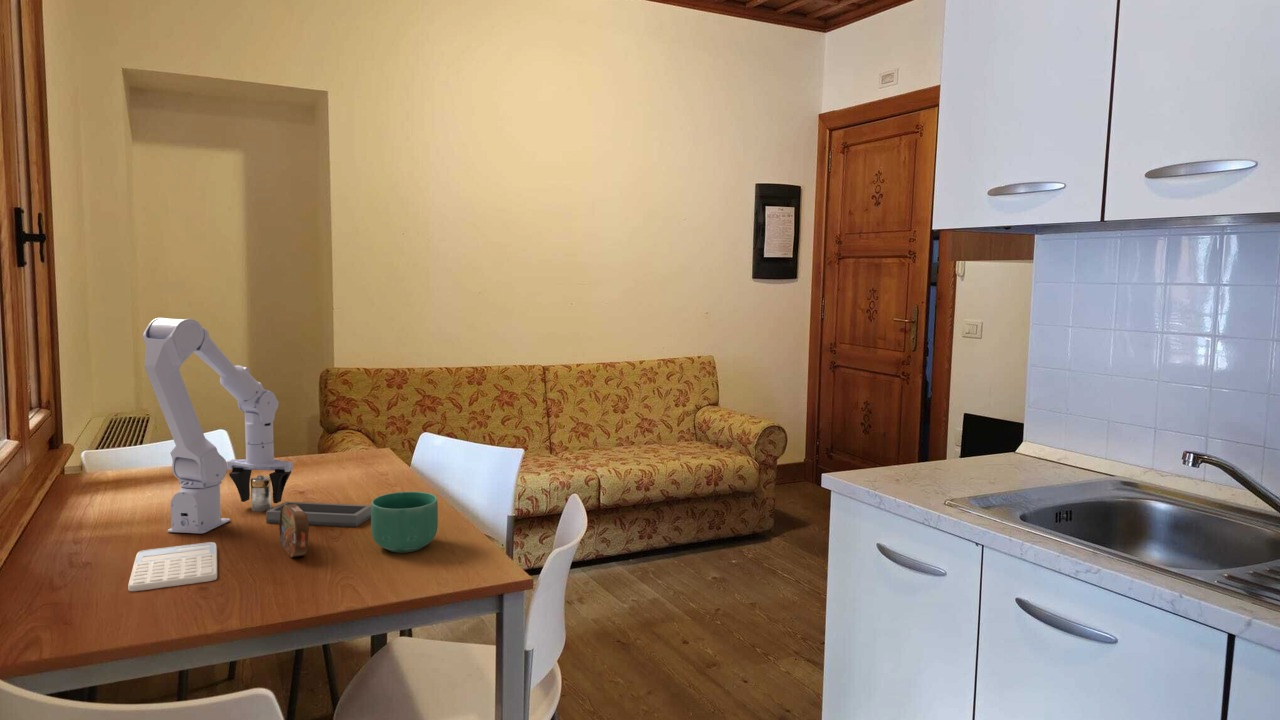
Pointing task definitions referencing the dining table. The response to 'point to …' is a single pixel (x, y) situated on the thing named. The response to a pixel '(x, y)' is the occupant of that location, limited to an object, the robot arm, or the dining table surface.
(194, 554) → the calculator
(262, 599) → the dining table surface
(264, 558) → the dining table surface
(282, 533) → the tin
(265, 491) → the cell
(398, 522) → the mug
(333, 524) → the trough
